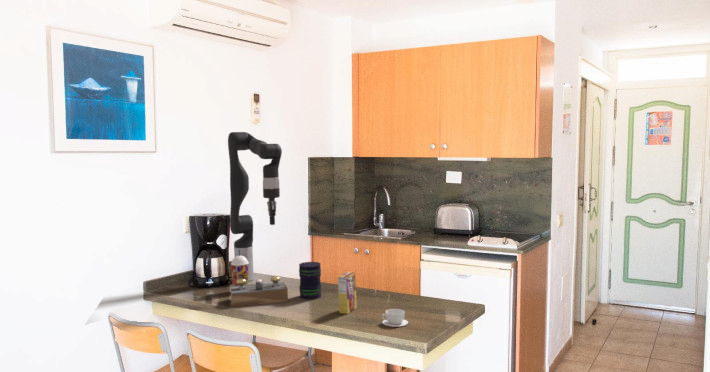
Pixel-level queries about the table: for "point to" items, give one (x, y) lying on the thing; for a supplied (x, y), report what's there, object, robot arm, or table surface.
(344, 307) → the candy box
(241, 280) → the knob
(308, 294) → the storage jar
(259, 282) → the cylinder
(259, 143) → the robot arm
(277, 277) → the knob
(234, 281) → the smoothie
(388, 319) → the teacup
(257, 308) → the table surface
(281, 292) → the mount
